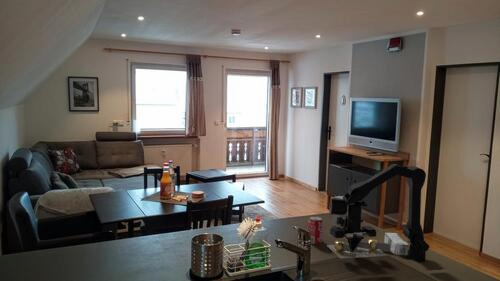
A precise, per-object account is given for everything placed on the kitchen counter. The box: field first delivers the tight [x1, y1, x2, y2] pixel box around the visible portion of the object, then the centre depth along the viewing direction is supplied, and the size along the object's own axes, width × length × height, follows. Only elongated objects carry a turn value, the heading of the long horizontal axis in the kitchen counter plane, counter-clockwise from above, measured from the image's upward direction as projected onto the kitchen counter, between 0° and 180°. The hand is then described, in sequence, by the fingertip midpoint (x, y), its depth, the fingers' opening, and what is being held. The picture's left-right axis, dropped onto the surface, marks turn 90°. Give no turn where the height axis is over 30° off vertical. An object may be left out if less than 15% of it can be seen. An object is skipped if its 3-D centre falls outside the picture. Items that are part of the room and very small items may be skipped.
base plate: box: [326, 244, 389, 259], centre depth 160 cm, size 14×22×1 cm, turn 102°
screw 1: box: [334, 240, 357, 253], centre depth 158 cm, size 9×4×4 cm, turn 67°
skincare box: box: [331, 195, 348, 230], centre depth 194 cm, size 8×7×16 cm
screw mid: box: [357, 240, 370, 249], centre depth 162 cm, size 9×4×4 cm, turn 66°
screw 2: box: [367, 238, 391, 252], centre depth 161 cm, size 9×4×4 cm, turn 68°
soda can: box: [306, 215, 324, 245], centre depth 169 cm, size 7×7×12 cm
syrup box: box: [383, 232, 409, 256], centre depth 164 cm, size 6×6×14 cm
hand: (351, 251), depth 155 cm, fingers closed
